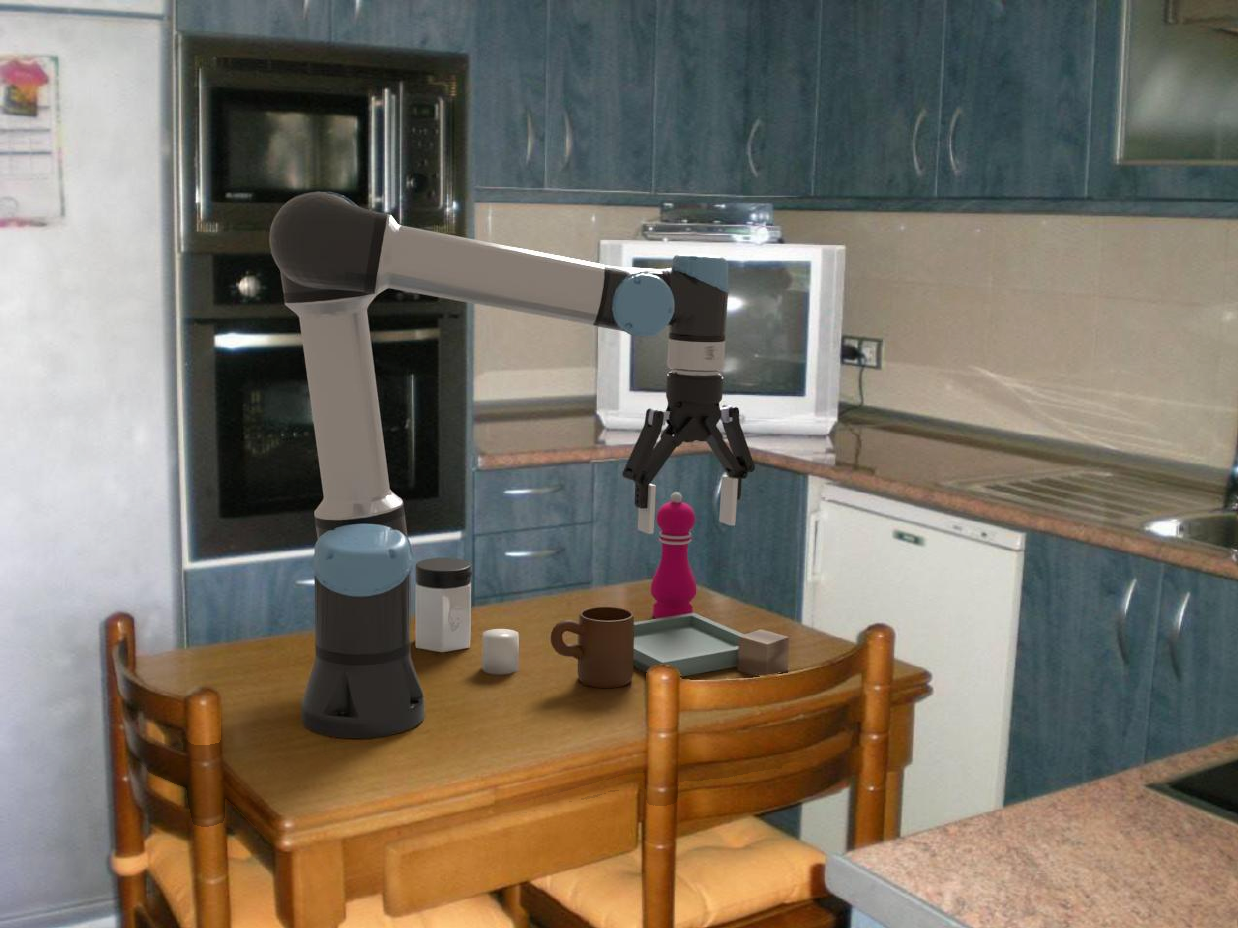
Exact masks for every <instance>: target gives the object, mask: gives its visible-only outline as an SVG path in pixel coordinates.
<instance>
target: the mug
mask: <svg viewBox="0 0 1238 928" xmlns="http://www.w3.org/2000/svg"><path fill="white" fill-rule="evenodd" d="M633 613H634V612H632V611H631V610H628V609H625V608H622V607H615V606H594V607H593V606H592V607H588V608H585V609H582V611H580V613H579V616H578V621H575V620H572V619H566V620H565V619H564V620H561V621H559V622H558V623H556V624H555V626H554V627H553V628H552V629H551V632H550V633H551V634H550V644H551V646H552V649H554V651H555V652H556V653H557V654H558V655H560V656H563V657H567V658H568V657H569V658H571V657H572V658H574V659H575V660H577V677H578V680H579V681H580V682H581V683H582V684H584V685H586V686H589V687H592V688H599V689H615V688H621V687H623V686H626V685H628V684H630V682H631V681H632V679H633V676H634V666H633V657H634V622H635V621H634V619H635V617H634V614H633ZM565 632H569V633H572V634H575V635H577V644H574V643H566V642H564V639H563V634H564V633H565ZM620 686H621V687H620Z"/></svg>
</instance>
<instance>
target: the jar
mask: <svg viewBox="0 0 1238 928" xmlns="http://www.w3.org/2000/svg"><path fill="white" fill-rule="evenodd" d="M414 567H415V569H414V570H415V571H414V574H415V592H414V593H415V596H414V597H415V609H414V610H415V616H414V617H415V648H417V649H420V650H421V649H422V650H427V651H432V652H436V653H437V652H438V653H447V652H453V651H460V650H464V649H469V648H470V647H471V638H472V637H471V633H472V632H471V630H472V629H471V628H472V626H471V625H472V623H471V622H472V617H471V616H472V611H471V610H472V609H471V608H472V604H471V603H472V597H471V596H472V594H471V593H472V592H471V591H472V577H473V570H472V563H471V562H470V561H468V560H466V559H463V558H457V557H456V558H455V557H433V558H432V557H431V558H426V559H422V560H420V561H418V562H416V564H415V566H414Z"/></svg>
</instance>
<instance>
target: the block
mask: <svg viewBox="0 0 1238 928" xmlns="http://www.w3.org/2000/svg"><path fill="white" fill-rule="evenodd" d="M743 634H744V633H743ZM789 650H790V636H786V635H783V634H780V633H776V632H772V631H769V630H764V629H762V628H761V629H758V630H754V631H752V632H748V633H745V634H744V635H741V636H739V645H738V666H737V668H736V669H737V671H739V672H743V673H745V674H750V675H752V676H756V677H759V675H767V674H773V673H778V672H783V673H785V672H788V669H789Z"/></svg>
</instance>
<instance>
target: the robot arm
mask: <svg viewBox="0 0 1238 928" xmlns="http://www.w3.org/2000/svg"><path fill="white" fill-rule="evenodd" d="M268 237H269V239H268V240H269V242H268V243H269V248H270V253H271V256H272V258H273V261H274V263H275V265H276V266H277V267H278V269H279V272H280V280H281V285H282V291H283V292H282V293H283V300H284V305H285V306H286V307H287V308H288V309H290V310H291V311H292V312H294V313H295V314H296V315H297V317H298V318H299V319H298V320H299V327H300V332H301V333H300V335H301V340H302V347H303V354H304V363H305V369H306V377H307V384H308V391H309V392H308V393H309V400H310V404H311V405H310V406H311V413H312V419H313V428H314V433H315V434H314V436H315V442H316V449H317V450H316V451H317V456H318V457H317V458H318V465H319V470H320V471H319V472H320V478H321V486H322V487H321V488H322V492H323V493H322V494H323V498H322V500H321V502H320V503H319V505H318V506H317V507H316V509H315V510H314V511H313V512H314V522H315V523H314V524H315V530H316V537H317V541H316V542H315V545H314V549H313V550H314V551H313V552H314V553H313V557H312V570H313V575H314V584H313V585H314V630H315V631H314V642H315V643H314V647H315V648H314V651H315V655H314V657H315V658H314V663H313V666H312V669H311V672H310V675H309V678H308V682H307V684H306V687H305V692H304V694H303V697H302V701H301V722H302V724H303V725H304V726H305V727H306V728H307V729H309V730H310V731H312V732H314V733H317V734H321V735H324V736H329V737H334V738H345V739H369V738H379V737H386V736H391V735H396V734H399V733H403V732H405V731H408V730H412V729H413V728H414V727H416V726H418V725H419V724H420V723H422V722H423V720H424V719H425V715H426V714H425V709H426V707H425V696H424V693H423V692H424V691H423V690H422V686H421V683H420V681H419V678H418V675H417V672H416V670H415V666H414V662H413V660H412V656H411V569H412V566H413V553H412V552H413V551H412V550H413V549H412V544H411V541H410V539H409V537H408V530H407V522H406V515H405V508H404V501H403V499H402V498H401V497H399V496H398V495H397V494H396V493H394V492H393V491H392V490H391V489H390V488H391V487H390V482H389V473H388V464H387V458H386V457H387V456H386V449H385V443H384V434H383V427H382V426H383V425H382V418H381V411H380V402H379V397H378V396H379V395H378V387H377V379H376V372H375V364H374V363H375V362H374V355H373V347H372V341H371V332H370V324H369V317H368V309H369V306H370V304H371V303H372V302H373V301H374V299H375V298H376V297H377V296H378V295H379V294H380V293H382V292H384V291H386V290H387V289H393V290H398V291H403V292H409V293H414V294H420V295H426V296H430V297H436V298H441V299H448V300H453V301H458V302H465V303H468V304H469V303H470V304H474V305H475V304H476V305H479V306H480V305H481V306H484V307H485V306H486V307H492V308H496V309H501V310H507V311H511V312H512V311H513V312H517V313H524V314H530V315H535V316H540V317H546V318H550V319H557V320H561V321H568V322H573V323H579V324H584V325H589V326H594V327H595V326H596V327H598V328H603V329H609V330H614V331H620V332H625V333H626V334H628V335H631V336H635V337H649V336H654V335H656V334H658V333H660V332H662V331H663V330H664V329H665V328H666V327H668V328H669V329H668V332H669V333H668V346H667V347H668V349H667V350H668V351H667V362H666V367H667V368H668V369H671V371H669V372H668V373H667V374H666V389H665V390H666V391H665V393H666V394H665V398H666V400H667V407H666V409H665V410H659V409H655V408H651V407H649V408H648V409H646V411H645V412H646V413H645V420H644V424H643V427H642V429H641V431H640V434H639V436H638V438H637V441H636V443H635V445H634V446H633V448H632V452H631V453H630V456H629V458H628V460H627V462H626V465H625V466H624V469H623V471H622V477H623V478H624V479H627V480H629V481H632V482H633V483H634V486H635V488H634V506H635V507H636V508H638V510H637V511H638V515H637V531H640V532H642V533H645V534H648V535H653V534H654V532H655V530H654V529H655V516H656V515H655V514H656V512H655V511H656V510H655V509H656V494H657V493H656V492H657V491H656V489H657V485H655V484H653V483H652V482H653V480H654V479H655V477H656V476H657V475H658V473H659V472H660V470H661V469H662V468H663V466H664V465H665V464H666V462H667V461H668V460H669V458H670V457H671V455H672V454H673V452H674V451H675V450H676V448H677V447H679V446H681V445H682V444H683V442H684V443H693V442H696V441H697V442H706V444H707V445H708V446H709V448H710V449H711V451H712V452H713V454H714V456H715V457H716V458H717V460H718V462H719V463H720V464H721V466H722V468H723V469H724V470H725V472H726V473H727V475H724V474H723V475H721V480H720V481H721V482H720V483H721V485H720V499H719V500H720V503H719V516H718V517H719V519H718V521H719V522H720V523H723V524H725V525H728V526H736V520H737V518H736V517H737V505H738V504H737V501H738V500H740V499H741V496H742V481H743V480H742V479H746V478H747V477H748V473H753V472H754V471H755V469H756V466H755V463H754V460H753V457H752V455H751V452H750V449H749V446H748V443H747V440H746V437H745V434H744V431H743V429H742V426H741V423H740V409H739V407H737V406H733V405H730V404H729V405H728V404H723V405H722V406H721V407H720V402H722V400H723V390H724V377H723V375H722V374H720V372H722V371H723V370H724V369H725V368H724V367H725V354H726V352H725V350H726V330H727V328H726V327H727V315H728V301H729V294H730V289H729V262H728V261H727V259H725V258H724V257H723V256H720V255H709V254H693V253H692V254H686V253H685V254H684V253H683V254H682V253H680V254H679V253H678V254H675V255H674V256H673V258H672V263H671V265H670V268H647V267H645V268H644V267H642V268H641V267H629V266H627V267H625V266H613V265H605V264H601V263H597V262H591V261H586V260H581V259H576V258H570V257H566V256H562V255H555V254H551V253H545V252H540V251H535V250H530V249H525V248H520V247H519V248H518V247H516V246H515V247H514V246H510V245H503V244H499V243H495V242H494V243H493V242H489V241H483V240H477V239H473V238H467V237H464V236H457V235H452V234H448V233H447V234H446V233H442V232H437V231H433V230H427V229H426V230H425V229H422V228H416V227H411V226H408V225H407V226H406V225H401V224H398V222H397V221H396V220H395V218H394V217H393V216H392V214H388V213H385V212H379V211H374V210H371V209H366V208H364V207H361V206H358V205H357V204H356V203H355V202H354V201H352V200H351V199H350V198H348V197H346V196H345V195H342V194H339V193H336V192H332V191H319V190H318V191H313V192H306V193H302V194H300V195H297V196H294V197H293V198H291V199H289V200H288V201H286V203H284V204H283V205H282V206H281V208H280V209H279V210H278V211H277V212H276V214H275V216H274V218H273V220H272V223H271V226H270V228H269V235H268ZM719 421H720V422H722V427H723V431H724V433H725V436H726V438H727V441H728V444H729V446H728V445H727V443H726V441H725V440H724V436H723V434H722V433H721V431H720V430H719V428H718V426H717V425H718V424H719ZM666 424H667V426H666V428H665V429H664V430H663V431H662V429H663V426H665V425H666ZM661 432H662V433H661ZM659 436H660V439H659ZM658 439H659V440H658Z"/></svg>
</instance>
